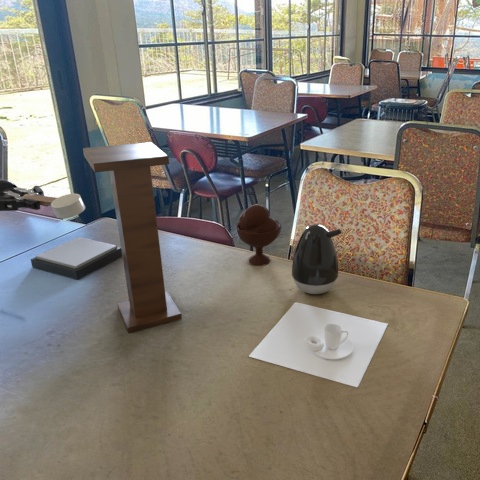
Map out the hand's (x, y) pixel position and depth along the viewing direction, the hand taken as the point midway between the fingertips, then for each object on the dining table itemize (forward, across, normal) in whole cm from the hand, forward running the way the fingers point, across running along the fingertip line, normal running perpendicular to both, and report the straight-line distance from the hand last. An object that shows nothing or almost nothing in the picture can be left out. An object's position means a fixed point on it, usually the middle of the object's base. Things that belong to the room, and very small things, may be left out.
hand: (43, 203), depth 113 cm
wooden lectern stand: (+37, +10, -13) cm, 41 cm away
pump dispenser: (+65, -12, -13) cm, 67 cm away
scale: (+8, 0, -13) cm, 16 cm away
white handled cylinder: (+2, 0, -1) cm, 3 cm away
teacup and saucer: (+73, +5, -13) cm, 75 cm away
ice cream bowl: (+47, -19, -13) cm, 52 cm away
